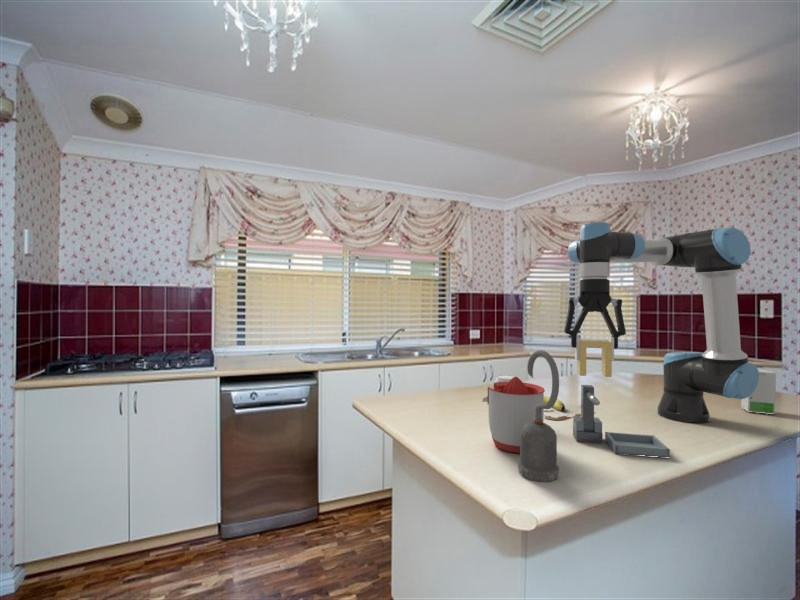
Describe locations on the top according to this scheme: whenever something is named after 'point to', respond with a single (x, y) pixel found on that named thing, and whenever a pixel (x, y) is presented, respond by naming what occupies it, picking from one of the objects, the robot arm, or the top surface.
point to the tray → (636, 444)
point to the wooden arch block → (606, 356)
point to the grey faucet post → (587, 418)
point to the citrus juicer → (512, 411)
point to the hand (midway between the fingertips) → (594, 359)
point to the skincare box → (762, 394)
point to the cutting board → (557, 406)
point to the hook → (540, 434)
